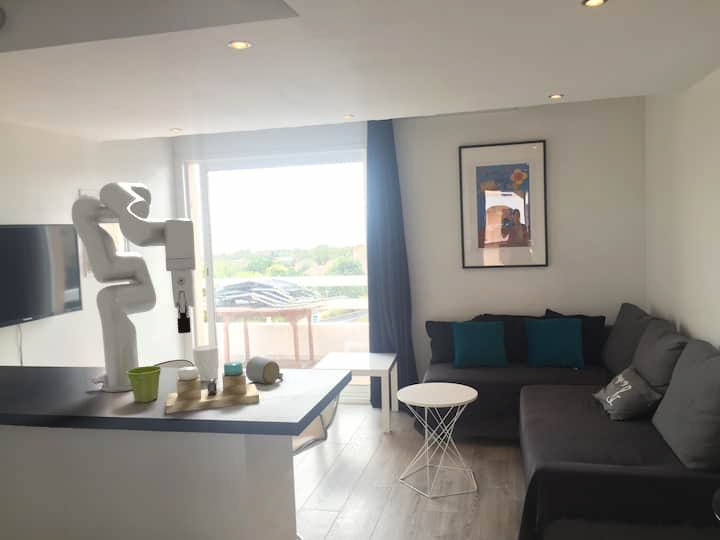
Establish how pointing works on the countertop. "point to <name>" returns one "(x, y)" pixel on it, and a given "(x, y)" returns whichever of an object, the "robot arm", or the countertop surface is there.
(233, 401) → the mount
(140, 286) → the robot arm
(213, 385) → the grey metal peg
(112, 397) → the countertop surface
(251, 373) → the ceramic mug
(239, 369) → the teal knob
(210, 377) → the white cup
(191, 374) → the ivory knob
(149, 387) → the plant pot
